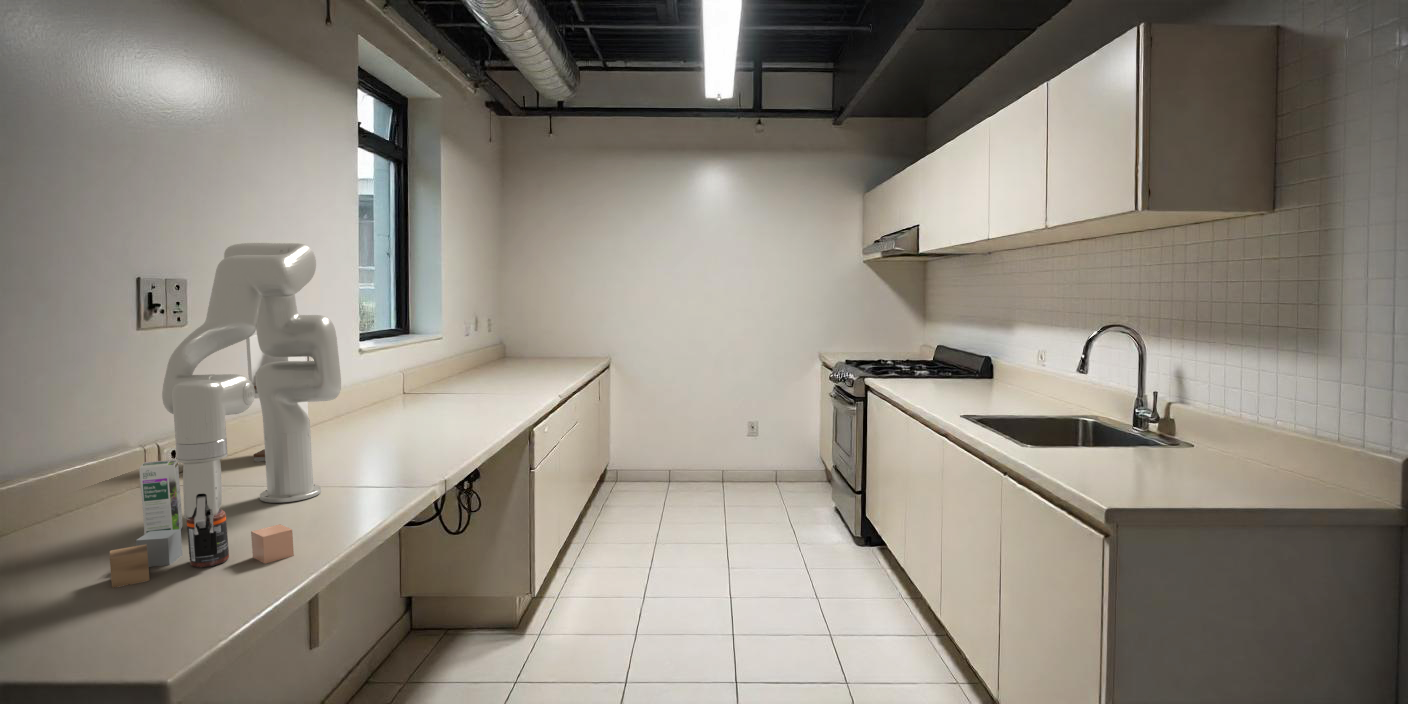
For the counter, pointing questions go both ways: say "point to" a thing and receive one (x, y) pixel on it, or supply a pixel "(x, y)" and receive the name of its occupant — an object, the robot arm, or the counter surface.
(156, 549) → the slate grey block
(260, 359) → the display case
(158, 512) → the syrup box
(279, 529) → the terracotta block
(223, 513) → the supplement bottle
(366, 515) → the counter surface
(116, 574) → the walnut block
